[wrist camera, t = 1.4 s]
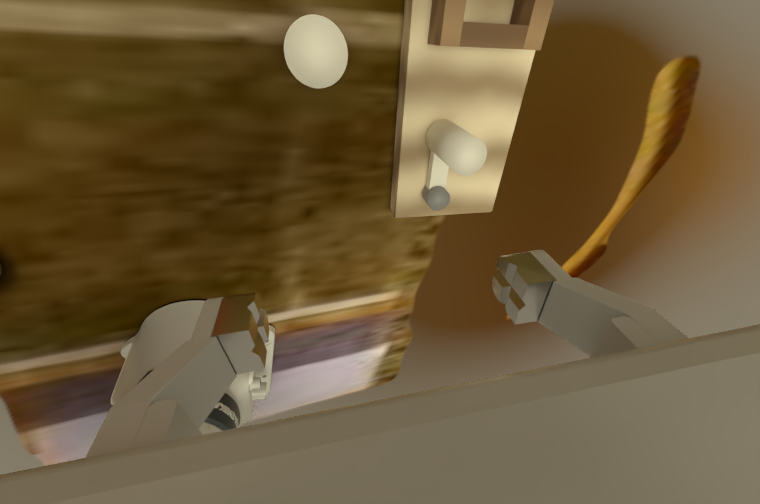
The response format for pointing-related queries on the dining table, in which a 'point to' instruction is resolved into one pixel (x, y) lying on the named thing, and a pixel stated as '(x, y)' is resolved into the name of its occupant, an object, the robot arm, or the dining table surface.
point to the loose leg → (315, 51)
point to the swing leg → (450, 159)
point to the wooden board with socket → (461, 91)
